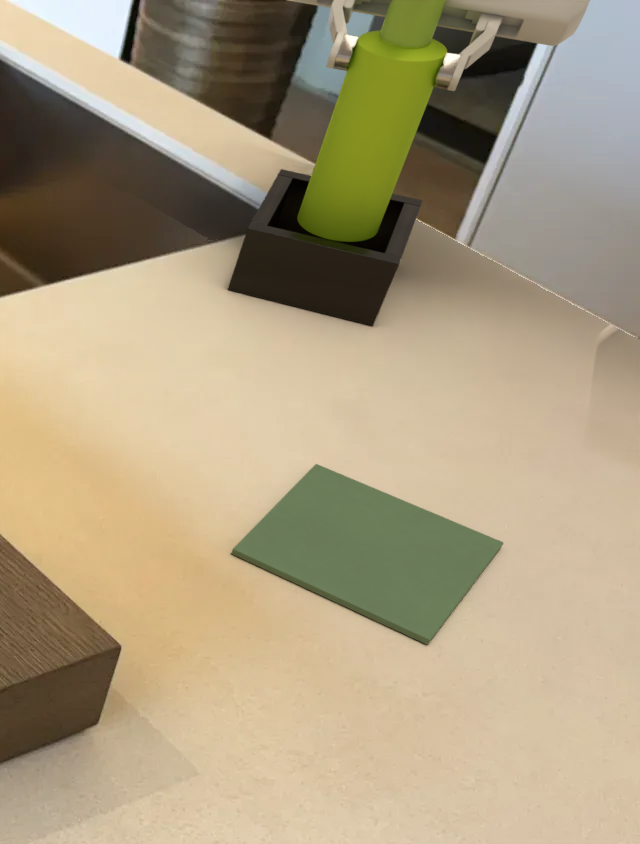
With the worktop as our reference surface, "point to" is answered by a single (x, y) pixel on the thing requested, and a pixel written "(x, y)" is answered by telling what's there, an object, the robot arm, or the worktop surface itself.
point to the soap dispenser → (374, 123)
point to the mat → (369, 552)
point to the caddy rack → (320, 256)
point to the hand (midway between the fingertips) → (391, 75)
